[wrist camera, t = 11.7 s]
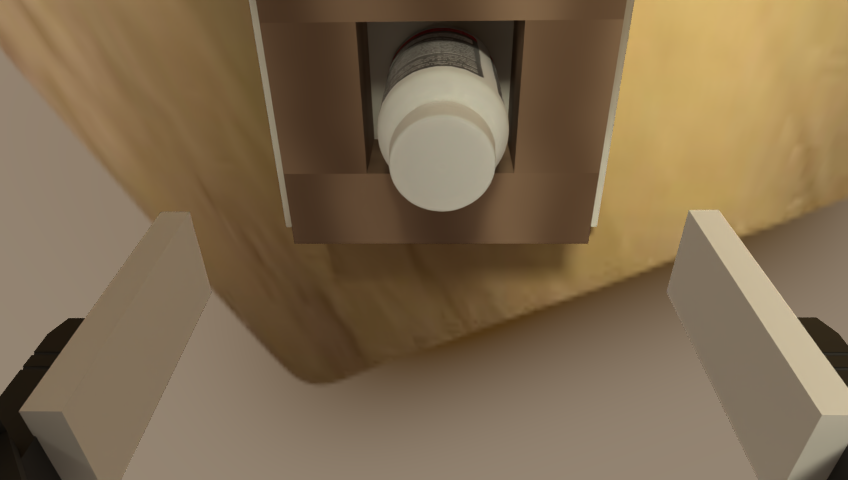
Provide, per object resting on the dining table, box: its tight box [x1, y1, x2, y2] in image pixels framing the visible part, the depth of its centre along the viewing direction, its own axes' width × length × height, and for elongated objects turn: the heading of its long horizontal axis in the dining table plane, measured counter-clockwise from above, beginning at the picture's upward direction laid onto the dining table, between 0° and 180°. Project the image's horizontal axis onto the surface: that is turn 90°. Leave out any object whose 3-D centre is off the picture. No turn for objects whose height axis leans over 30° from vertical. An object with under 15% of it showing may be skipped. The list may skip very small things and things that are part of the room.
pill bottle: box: [377, 26, 509, 212], centre depth 26 cm, size 5×5×10 cm
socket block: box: [249, 0, 634, 244], centre depth 29 cm, size 18×18×5 cm
